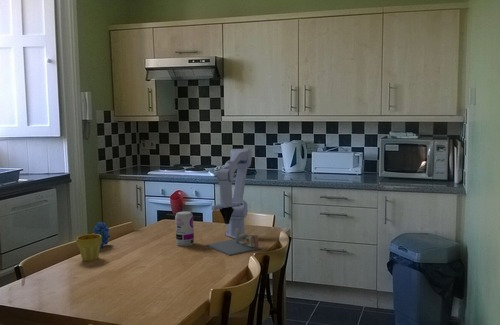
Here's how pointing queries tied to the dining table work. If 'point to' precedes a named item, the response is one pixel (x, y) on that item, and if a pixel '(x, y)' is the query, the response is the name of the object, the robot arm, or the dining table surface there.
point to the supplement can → (184, 228)
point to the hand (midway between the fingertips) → (227, 223)
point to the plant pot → (89, 246)
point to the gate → (242, 236)
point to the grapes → (102, 232)
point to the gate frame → (233, 246)
